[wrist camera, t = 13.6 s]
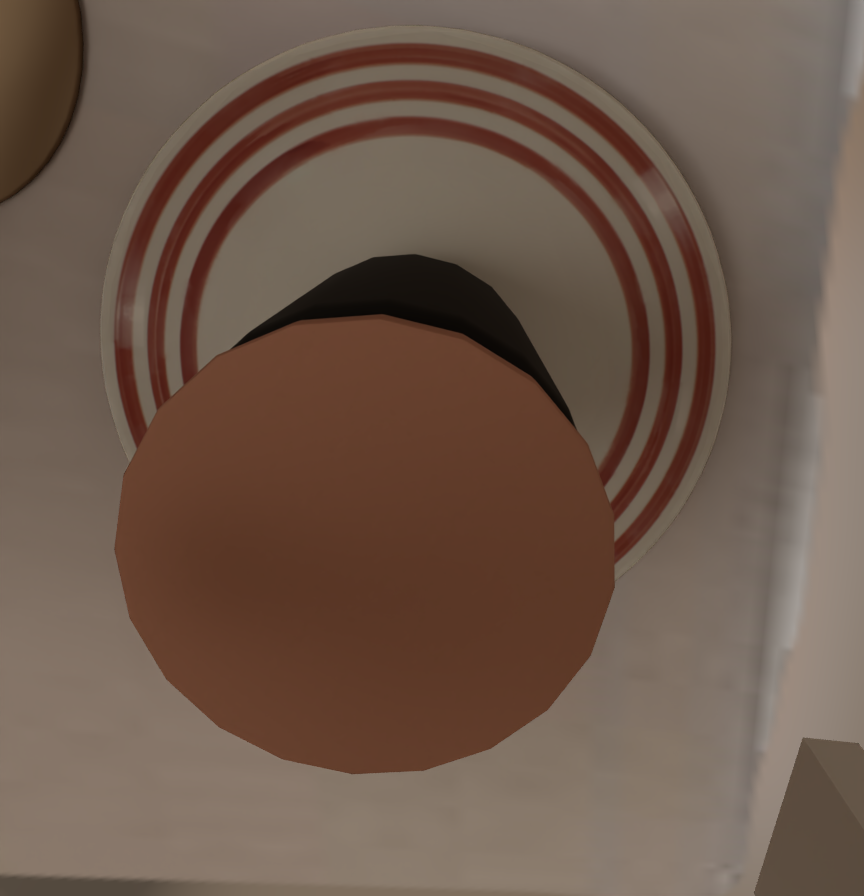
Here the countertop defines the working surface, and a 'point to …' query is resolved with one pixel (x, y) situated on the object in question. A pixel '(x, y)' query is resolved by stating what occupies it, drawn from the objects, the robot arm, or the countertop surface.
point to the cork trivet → (36, 84)
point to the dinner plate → (438, 237)
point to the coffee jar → (370, 526)
